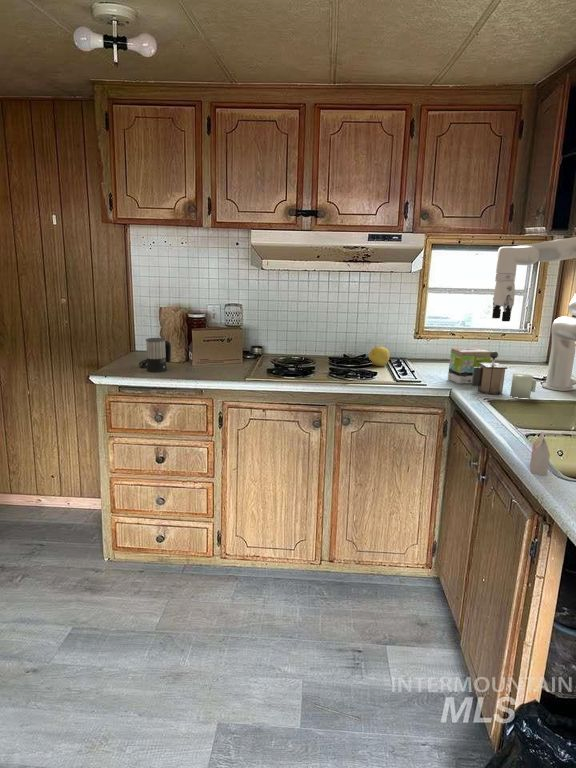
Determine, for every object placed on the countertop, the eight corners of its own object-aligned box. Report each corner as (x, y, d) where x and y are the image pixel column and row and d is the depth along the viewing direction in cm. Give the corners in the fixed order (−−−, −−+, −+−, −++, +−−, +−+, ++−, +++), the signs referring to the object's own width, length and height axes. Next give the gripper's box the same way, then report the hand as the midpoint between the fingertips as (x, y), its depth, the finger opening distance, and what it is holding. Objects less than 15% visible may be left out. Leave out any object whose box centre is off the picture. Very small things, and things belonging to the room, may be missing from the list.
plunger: (494, 386, 227) (499, 349, 223) (500, 390, 221) (505, 352, 217) (479, 386, 227) (484, 349, 223) (485, 390, 221) (489, 352, 217)
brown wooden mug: (496, 389, 229) (500, 362, 226) (506, 395, 219) (509, 367, 217) (467, 388, 229) (470, 362, 226) (475, 394, 219) (478, 367, 216)
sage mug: (528, 394, 221) (531, 373, 219) (537, 399, 214) (540, 378, 212) (507, 394, 221) (509, 373, 219) (514, 399, 214) (517, 377, 212)
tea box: (459, 384, 236) (463, 352, 232) (447, 379, 245) (450, 348, 242) (488, 383, 240) (492, 351, 236) (474, 378, 249) (478, 347, 246)
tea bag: (544, 466, 145) (550, 432, 142) (546, 476, 139) (552, 440, 136) (530, 464, 146) (535, 430, 144) (531, 473, 140) (536, 438, 137)
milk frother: (162, 373, 242) (161, 341, 238) (129, 371, 244) (128, 339, 241) (173, 366, 256) (172, 336, 252) (143, 364, 258) (141, 334, 254)
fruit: (392, 365, 272) (393, 346, 270) (382, 368, 264) (383, 349, 262) (374, 362, 279) (376, 343, 276) (364, 365, 270) (365, 346, 268)
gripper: (524, 279, 207) (519, 322, 211) (505, 276, 223) (501, 317, 228) (505, 279, 207) (500, 322, 211) (487, 276, 223) (483, 317, 227)
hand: (500, 319), depth 219 cm, fingers open, 9 cm apart
